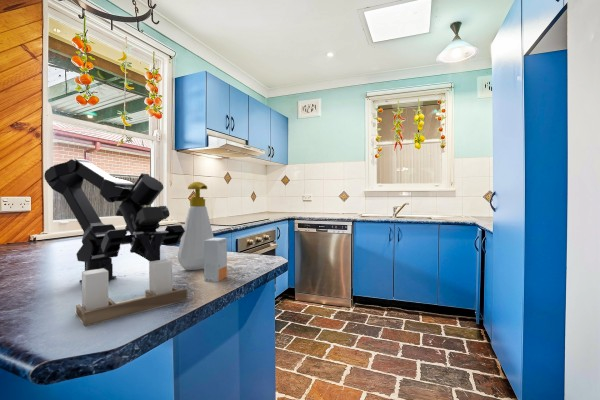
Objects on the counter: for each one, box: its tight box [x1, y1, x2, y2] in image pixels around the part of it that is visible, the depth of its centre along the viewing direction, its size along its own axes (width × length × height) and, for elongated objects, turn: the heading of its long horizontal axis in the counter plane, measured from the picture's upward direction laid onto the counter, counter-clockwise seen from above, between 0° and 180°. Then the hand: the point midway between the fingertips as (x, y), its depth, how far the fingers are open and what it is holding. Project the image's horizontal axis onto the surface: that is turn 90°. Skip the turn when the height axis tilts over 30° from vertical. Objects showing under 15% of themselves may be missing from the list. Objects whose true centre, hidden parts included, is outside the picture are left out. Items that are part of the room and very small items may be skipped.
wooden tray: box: [74, 285, 188, 327], centre depth 64 cm, size 10×19×3 cm, turn 136°
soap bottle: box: [177, 181, 215, 271], centre depth 97 cm, size 13×10×29 cm
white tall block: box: [81, 268, 110, 311], centre depth 61 cm, size 4×4×8 cm
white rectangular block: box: [148, 258, 173, 295], centre depth 70 cm, size 4×4×8 cm
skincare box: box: [203, 237, 228, 283], centre depth 85 cm, size 6×4×12 cm
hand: (158, 264), depth 72 cm, fingers closed
